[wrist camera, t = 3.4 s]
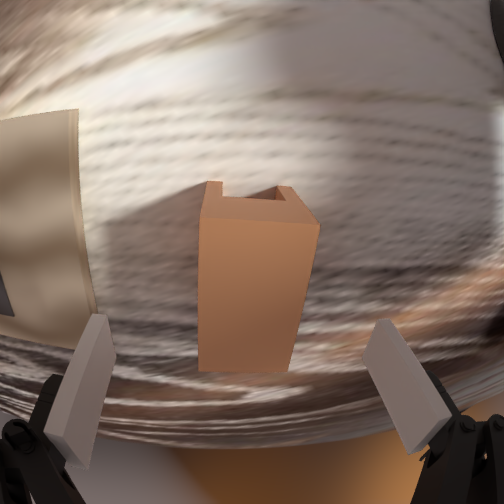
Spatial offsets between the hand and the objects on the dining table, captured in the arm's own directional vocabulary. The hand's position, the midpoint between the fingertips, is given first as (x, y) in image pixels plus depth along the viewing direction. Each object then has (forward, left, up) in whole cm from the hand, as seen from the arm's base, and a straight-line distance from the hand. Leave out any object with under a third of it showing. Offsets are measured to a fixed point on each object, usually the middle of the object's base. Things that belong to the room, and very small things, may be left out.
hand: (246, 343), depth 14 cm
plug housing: (0, 0, -9) cm, 9 cm away
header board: (0, -22, -9) cm, 23 cm away
